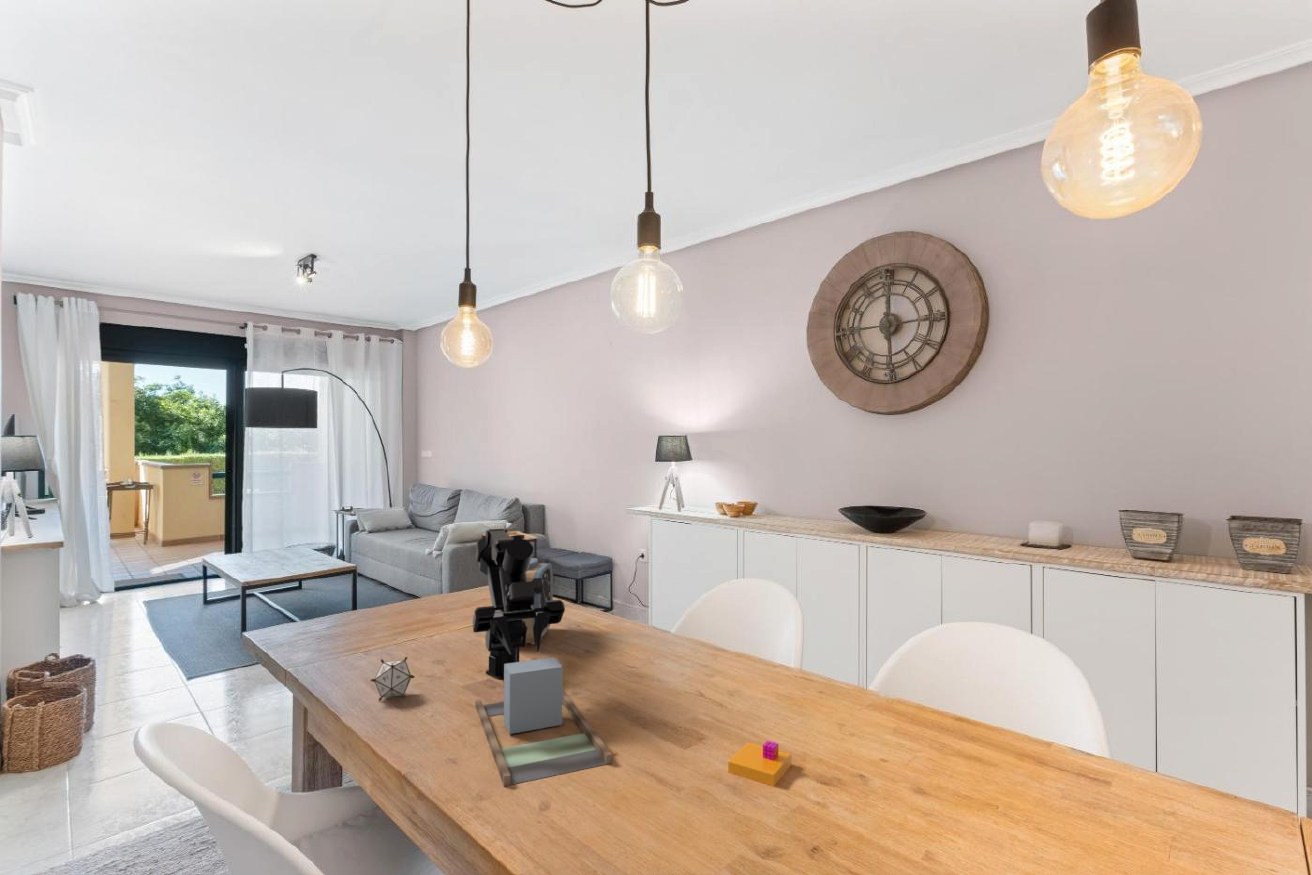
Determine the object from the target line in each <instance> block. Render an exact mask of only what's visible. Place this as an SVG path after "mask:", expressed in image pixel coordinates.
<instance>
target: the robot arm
mask: <svg viewBox="0 0 1312 875" xmlns="http://www.w3.org/2000/svg"><path fill="white" fill-rule="evenodd" d="M474 552H475V563H477V564H478V569H479V571H480V572H481V573H483V574H485V576H486V577H487V582H488V588H489V594H490V599H491V605H490V606H479V607H476V608H475V610H474V611H473V617H472V630H473V632H474V633H482V632H483V633H485V639H484V640H485V647H486V649H487V652H489V655H488V670H485V673H486V674H487V675H490V676H492V677H496V678H498V679H500V680H504V664H508V663H515V662H520V648H524V647H525V645H527V644H526V634H527V626H526V625H525V621H523V620H522V619H530V618H534V619H535V623H534V627H533V630H534V640H535V644H534V646H535V651H536V652H540V648H541V647H540V645H541V641H542V640H541V635H542V629H543V628H546V627H547V625H548V624H550V625H554V624H555V625H557V624H559V623H561V622H562V619H563V616H564V613H565V611H566V608H565V607H566V606H565V603H564V602H563V600H561V599H553V600H550V601H545V602H544V606H543V608H534V609H532V606H531V605H534V597H535V595H539V594H542V592H543V582H542V578H535V579H533V580H532V581H530V582H527V576H526V571H527V570H528V568H529V564H530V561H531V558H533V553H534V547H533V545H532V543H531V542H530V541H528V540H526V539H524V538H523V535H522V534H515V535H512V537H511V536H510V535H509V534H508V533H507V529H504V528H492V529H491V528H490V529H488V530H485V534H484V536H483V537H482V538H480V539H479V540H478V541H477V543H476V548H475V551H474Z"/></svg>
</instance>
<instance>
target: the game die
mask: <svg viewBox="0 0 1312 875" xmlns="http://www.w3.org/2000/svg"><path fill="white" fill-rule="evenodd" d="M407 660H408V656H406V657H404V659H403V660H402V659H401V660H391V661H384V659H383V658H380V662H381V663H382V664H381V665H380V667H379V668H378V671H377V673H376V675H375V677H374V678H371V679H370V682H373V683H374V684H375V687H376V688H377V691H378V693H379V696H380V697H379V698H378V702H380V701H382V699H383V698H391V697H398V696H402V697H403V698H404V699H407V695H406V691H407V689H408V687H409V684H410V681H411V680H412V679H414V678H416V676H415V675H414V674H411V671H410V669H409V666H408V664H407Z"/></svg>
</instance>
